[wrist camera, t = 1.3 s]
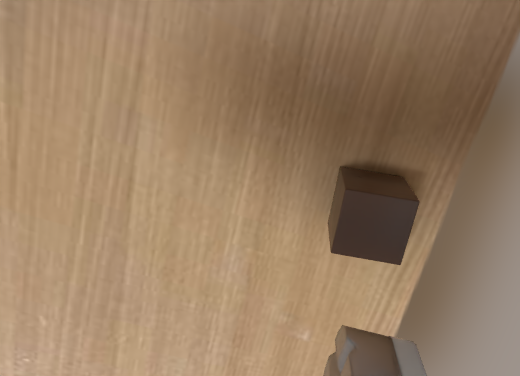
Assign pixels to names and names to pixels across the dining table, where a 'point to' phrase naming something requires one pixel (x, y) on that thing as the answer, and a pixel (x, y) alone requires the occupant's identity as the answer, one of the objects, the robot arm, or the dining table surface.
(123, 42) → the dining table surface
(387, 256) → the block
